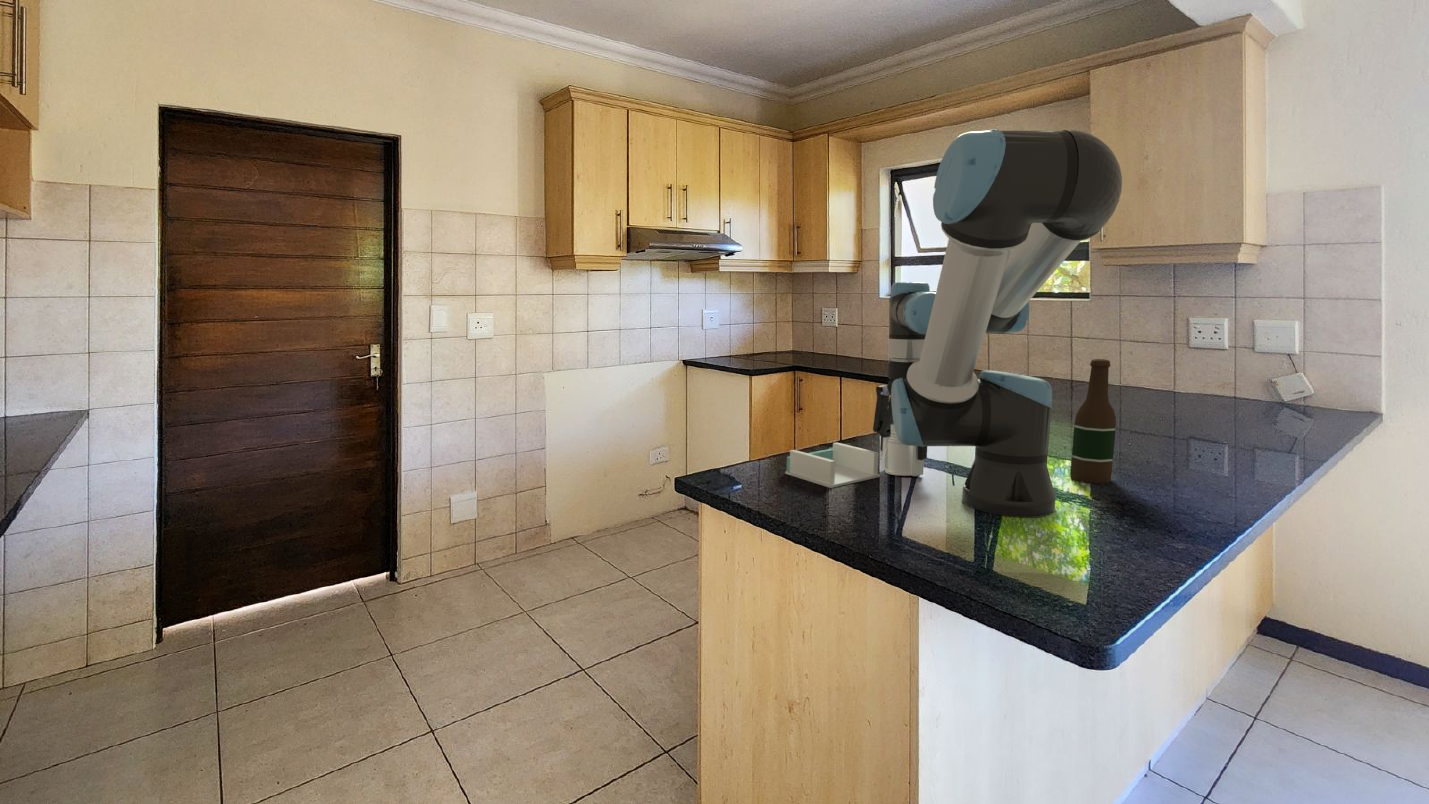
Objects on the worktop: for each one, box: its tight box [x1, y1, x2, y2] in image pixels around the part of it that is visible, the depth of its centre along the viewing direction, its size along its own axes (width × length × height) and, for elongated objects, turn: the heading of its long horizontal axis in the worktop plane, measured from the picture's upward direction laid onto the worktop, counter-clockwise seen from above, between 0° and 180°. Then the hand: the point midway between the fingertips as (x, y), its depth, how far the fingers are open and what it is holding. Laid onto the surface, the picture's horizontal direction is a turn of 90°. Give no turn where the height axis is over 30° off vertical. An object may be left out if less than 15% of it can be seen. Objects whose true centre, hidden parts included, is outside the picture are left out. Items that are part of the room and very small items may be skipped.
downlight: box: [881, 424, 913, 477], centre depth 145 cm, size 8×7×10 cm
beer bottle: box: [1069, 358, 1117, 485], centre depth 139 cm, size 8×8×24 cm
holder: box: [784, 442, 881, 489], centre depth 143 cm, size 13×14×5 cm
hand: (902, 470), depth 145 cm, fingers closed on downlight, 7 cm apart
